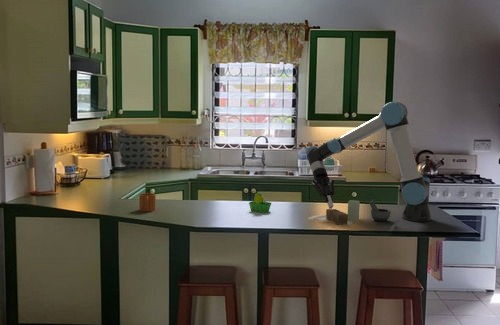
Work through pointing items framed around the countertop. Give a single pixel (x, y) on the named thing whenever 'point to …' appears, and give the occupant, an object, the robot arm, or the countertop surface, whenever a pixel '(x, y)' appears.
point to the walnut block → (336, 216)
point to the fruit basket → (259, 204)
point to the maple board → (323, 218)
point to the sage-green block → (353, 210)
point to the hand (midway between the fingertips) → (331, 207)
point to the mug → (147, 202)
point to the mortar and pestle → (379, 213)
